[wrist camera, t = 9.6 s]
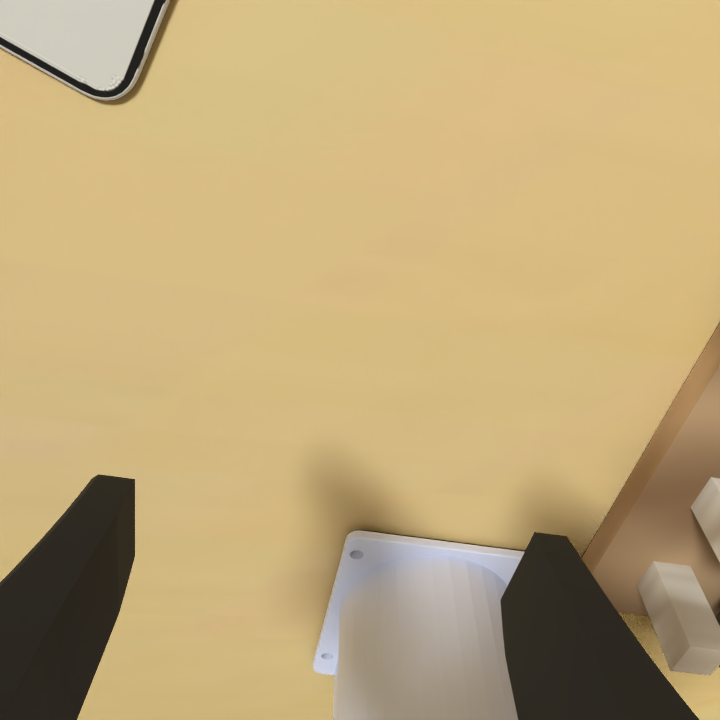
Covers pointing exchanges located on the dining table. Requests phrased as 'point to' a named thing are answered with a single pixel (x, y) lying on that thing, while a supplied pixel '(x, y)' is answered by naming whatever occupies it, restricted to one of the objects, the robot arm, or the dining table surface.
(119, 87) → the smartphone
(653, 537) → the board
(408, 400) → the dining table surface
